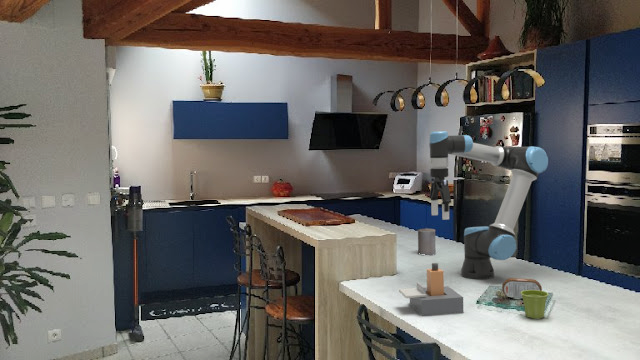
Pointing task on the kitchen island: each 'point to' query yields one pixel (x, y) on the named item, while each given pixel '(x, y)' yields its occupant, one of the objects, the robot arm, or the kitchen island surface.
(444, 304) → the socket
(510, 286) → the tin
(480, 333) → the kitchen island surface
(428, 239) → the pillar candle
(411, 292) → the shutter
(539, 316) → the plant pot
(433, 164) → the robot arm
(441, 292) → the orange square bottle
